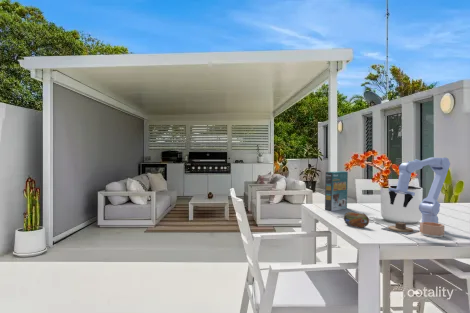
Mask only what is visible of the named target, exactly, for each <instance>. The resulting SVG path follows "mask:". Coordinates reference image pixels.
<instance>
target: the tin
mask: <svg viewBox="0 0 470 313" xmlns="http://www.w3.org/2000/svg"><path fill="white" fill-rule="evenodd" d="M343 221H344V223H345V224H346V225H347V226H350V227H356V228H361V229H362V228H366V227H367V226H368V225H369V223H370V219H369V216H368V215H367V214H364V213H361V212H352V211H350V212H349V211H348V212H346V213H345V214H344V216H343Z"/></svg>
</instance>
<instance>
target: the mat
mask: <svg viewBox="0 0 470 313" xmlns="http://www.w3.org/2000/svg"><path fill="white" fill-rule="evenodd" d="M388 227H389V226H386V227H383V228H381V230H383V231H389V232H393V233H398V234H401V235H407V236H408V235H411V234H415V233H419V232H420V229H419V230H417V229H413V228H412V229H413V232H398V231H393V230H390V229H388ZM420 233H421V232H420Z"/></svg>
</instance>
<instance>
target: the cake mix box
mask: <svg viewBox="0 0 470 313" xmlns="http://www.w3.org/2000/svg"><path fill="white" fill-rule="evenodd" d="M348 172H349V171H342V170H341V171H339V170H337V171H325V181H324V182H325V186H324V187H325V189H324V192H325V193H324V210H325V211H331V212H333V211H338V210H345V209H348V179H349V177H348V174H349V173H348Z"/></svg>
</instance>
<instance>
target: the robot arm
mask: <svg viewBox="0 0 470 313" xmlns="http://www.w3.org/2000/svg"><path fill="white" fill-rule="evenodd" d="M425 166H429V167H430V169H431V170H432V172H434V173H435V175H434V177H433V181H432V183H431V186H430V189H429V191H428V193H427V197H424V198H422V201H421V202H420V203H419V205H418V210H419V212H420V214H421V222H434V223H439V217H438V214H439V213H440V206H441V203H440V202H439V201H438V200H439V196H440V194H441V191H442V188H443V186H444V183H445V181H446V177H447V175H448V171H449V169H450V167H451V162H450V159H449V158H448V157H446V156H445V157H435V156H434V157H433V156H432V157H428V158H425V159H422V160H420V159H417V158H415V159H413V160H412V161H411V160H409V161H407V162H402V163H401V164H400V165H399V166H398V173H399V176H398V180H397V184H396V188H392V187H388V190H387V191H388V194H389V200H390V202H389V204H390V205H393V206H394V204H395V200H396V198H397V195H398V194H401V195H404V200H403V206H402V207H403V208H407V207H408V205H409V203H410V202H411V200H413V198H414V196H415V193H416V192H414V191H410V190H408V189H409V185H410V181H411V176H412V173H414V172H415V171H418V170H421V169H423V167H425ZM418 229H420V226H419V227H418Z"/></svg>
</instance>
